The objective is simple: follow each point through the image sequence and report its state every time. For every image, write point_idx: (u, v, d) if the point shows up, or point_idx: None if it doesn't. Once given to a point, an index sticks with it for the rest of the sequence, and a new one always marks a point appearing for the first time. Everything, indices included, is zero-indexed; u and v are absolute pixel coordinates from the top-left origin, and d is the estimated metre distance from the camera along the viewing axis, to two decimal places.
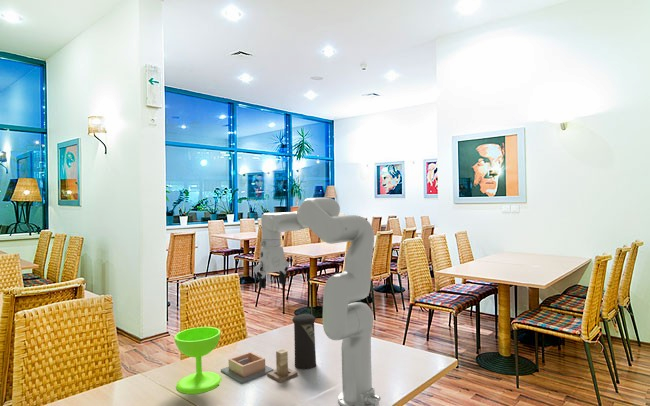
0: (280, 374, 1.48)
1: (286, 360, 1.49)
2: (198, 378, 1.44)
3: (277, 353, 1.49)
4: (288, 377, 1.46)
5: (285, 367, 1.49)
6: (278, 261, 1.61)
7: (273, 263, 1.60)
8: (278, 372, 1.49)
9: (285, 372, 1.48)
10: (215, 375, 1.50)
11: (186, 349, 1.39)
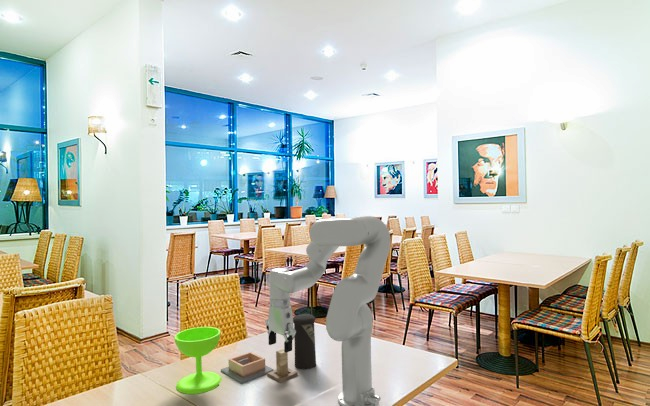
0: (280, 374, 1.48)
1: (286, 360, 1.49)
2: (198, 378, 1.44)
3: (277, 353, 1.49)
4: (288, 377, 1.46)
5: (285, 367, 1.49)
6: None
7: None
8: (278, 372, 1.49)
9: (285, 372, 1.48)
10: (215, 375, 1.50)
11: (186, 349, 1.39)
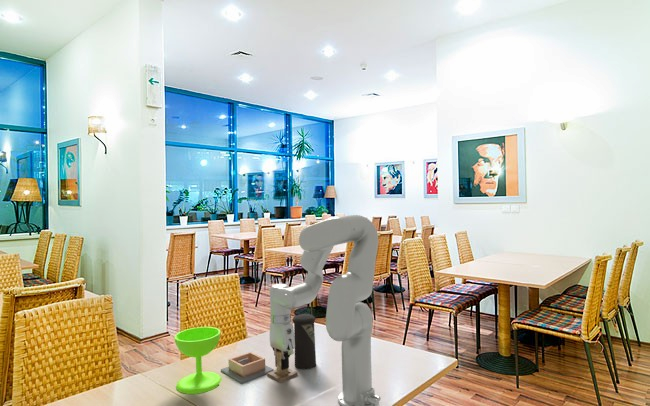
0: (280, 374, 1.48)
1: None
2: (198, 378, 1.44)
3: (277, 352, 1.49)
4: (288, 377, 1.46)
5: None
6: None
7: None
8: (278, 372, 1.49)
9: (285, 372, 1.48)
10: (215, 375, 1.50)
11: (186, 349, 1.39)
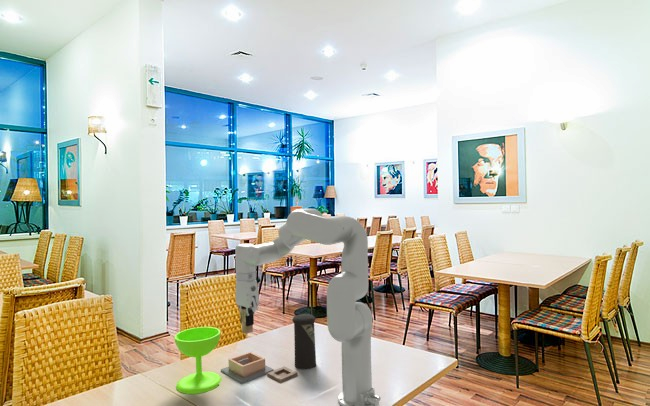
0: (245, 330, 1.52)
1: None
2: (198, 378, 1.44)
3: (242, 310, 1.53)
4: (288, 377, 1.46)
5: None
6: None
7: None
8: (243, 329, 1.53)
9: (249, 329, 1.53)
10: (215, 375, 1.50)
11: (186, 349, 1.39)
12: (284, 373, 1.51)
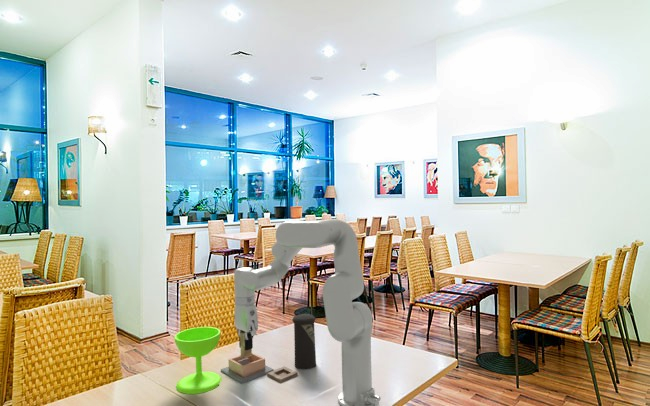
0: (243, 354, 1.52)
1: None
2: (198, 378, 1.44)
3: (240, 334, 1.54)
4: (288, 377, 1.46)
5: None
6: None
7: None
8: (242, 352, 1.53)
9: (248, 352, 1.53)
10: (215, 375, 1.50)
11: (186, 349, 1.39)
12: (284, 373, 1.51)
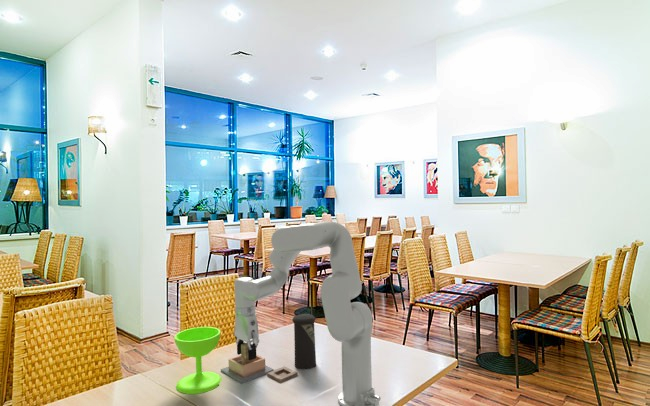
0: None
1: None
2: (198, 378, 1.44)
3: (241, 345, 1.54)
4: (288, 377, 1.46)
5: (250, 360, 1.53)
6: None
7: None
8: (243, 364, 1.53)
9: None
10: (215, 375, 1.50)
11: (186, 349, 1.39)
12: (284, 373, 1.51)
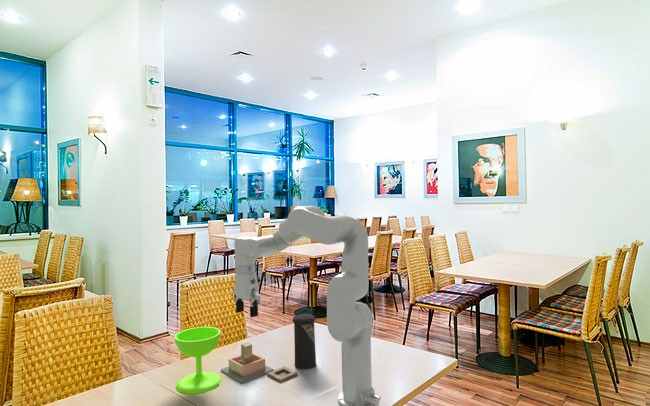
0: None
1: (250, 353, 1.54)
2: (198, 378, 1.44)
3: (241, 345, 1.54)
4: (288, 377, 1.46)
5: (250, 360, 1.53)
6: None
7: None
8: (243, 364, 1.53)
9: None
10: (215, 375, 1.50)
11: (186, 349, 1.39)
12: (284, 373, 1.51)
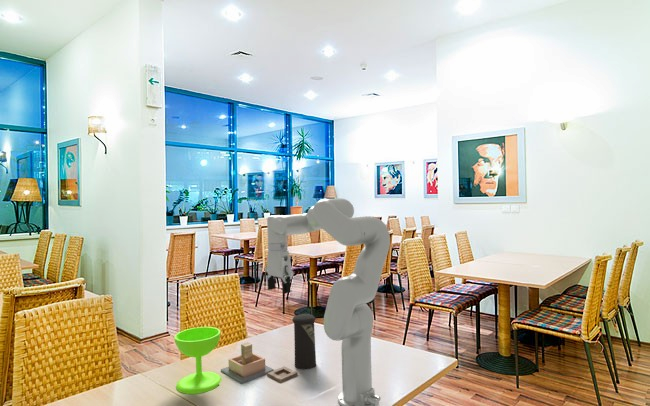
0: None
1: (250, 353, 1.54)
2: (198, 378, 1.44)
3: (241, 345, 1.54)
4: (288, 377, 1.46)
5: (250, 360, 1.53)
6: None
7: None
8: (243, 364, 1.53)
9: None
10: (215, 375, 1.50)
11: (186, 349, 1.39)
12: (284, 373, 1.51)
